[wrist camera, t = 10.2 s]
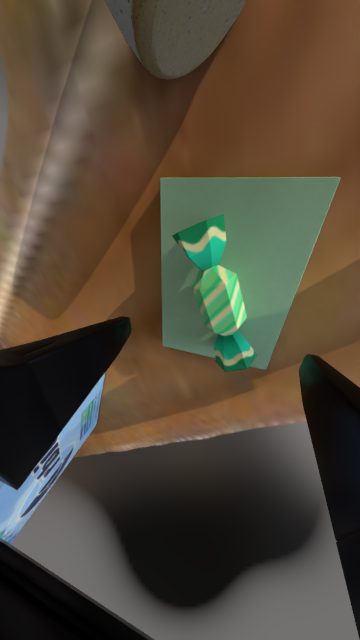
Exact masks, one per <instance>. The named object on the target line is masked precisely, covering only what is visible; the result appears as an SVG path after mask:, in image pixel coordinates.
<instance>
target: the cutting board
mask: <svg viewBox="0 0 360 640" xmlns="http://www.w3.org/2000/svg"><path fill="white" fill-rule="evenodd" d="M340 178H341V177H213V178H160V206H161V272H162V339H163V346H165V347H170V348H174V349H178V350H182V351H187V352H191V353H195V354H199V355H204V356H208V357H212V358H215V351H214V345H215V342H216V339H217V337H218V334H216V333H214V332H213V331H212V330H210V329H209V328H208V327H207V326H206V325H205V324H204V321H203V318H202V315H201V312H200V309H199V306H198V304H197V301H196V298H195V295H194V292H193V289H192V285H193V283H194V281H195V279H196V277H197V276H198V274H199V272H200V269H199V268H198V267H197V266H196V265H195V264H194V263H193V262H192V261H191V260H190V259H189V258H188V257H187V256H186V255H185V253H184V252H183V251H182V249H181V248H180V246H179V245H178V244H177V242H176V241H175V240H174V238H173V237H172V235H174V234H176V233H177V232H179V231H182V230H184V229H187V228H189V227H191V226H194V225H196V224H198V223H201V222H203V221H205V220H208V219H211V218H214V217H216V216H219V215H222V214H224V223H225V232H226V245H225V248H224V251H223V254H222V258H221V261H220V264H219V266H221V267H223V268H225V269H228V270H230V271H232V272H234V273H236V274H237V278H238V282H239V286H240V290H241V294H242V298H243V303H244V307H245V311H246V315H247V318H246V319H245V321H244V322H243V323H242V324H241V326H240V327H239V328H238V330H237V331H238V332H239V333H240V334H241V335H242V336H243V337H244V338H245V339H246V340H247V342H248V343H249V344H250V346H251V347H252V348H253V350H254V351H255V352H256V354H257V356H256V358H255V359H254V360H253V361H252V363H251V364H250V365H249V366H250V367H254V368H259V369H263V370H266V368H267V365H268V363H269V360H270V357H271V355H272V352H273V350H274V347H275V345H276V342H277V340H278V337H279V334H280V332H281V329H282V327H283V324H284V322H285V319H286V317H287V314H288V311H289V309H290V306H291V304H292V301H293V299H294V296H295V294H296V291H297V288H298V286H299V283H300V281H301V278H302V276H303V273H304V270H305V268H306V265H307V263H308V260H309V258H310V255H311V253H312V250H313V247H314V245H315V242H316V240H317V237H318V235H319V232H320V230H321V227H322V224H323V222H324V219H325V217H326V214H327V212H328V209H329V207H330V204H331V201H332V199H333V196H334V194H335V191H336V189H337V186H338V184H339V181H340Z"/></svg>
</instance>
